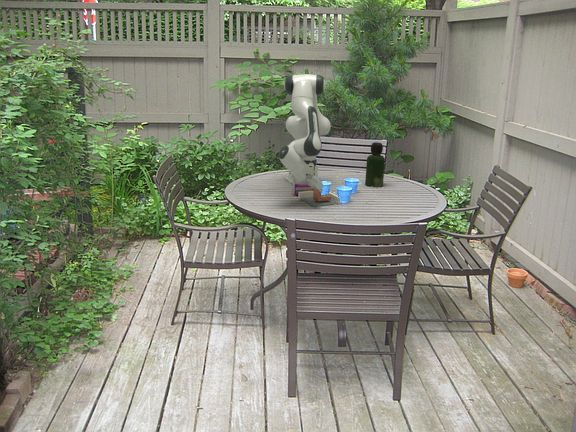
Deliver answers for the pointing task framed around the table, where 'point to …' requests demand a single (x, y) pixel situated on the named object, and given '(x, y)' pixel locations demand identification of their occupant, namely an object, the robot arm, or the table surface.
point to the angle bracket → (320, 196)
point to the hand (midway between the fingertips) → (318, 189)
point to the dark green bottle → (375, 166)
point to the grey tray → (310, 194)
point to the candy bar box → (301, 186)
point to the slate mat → (318, 202)
